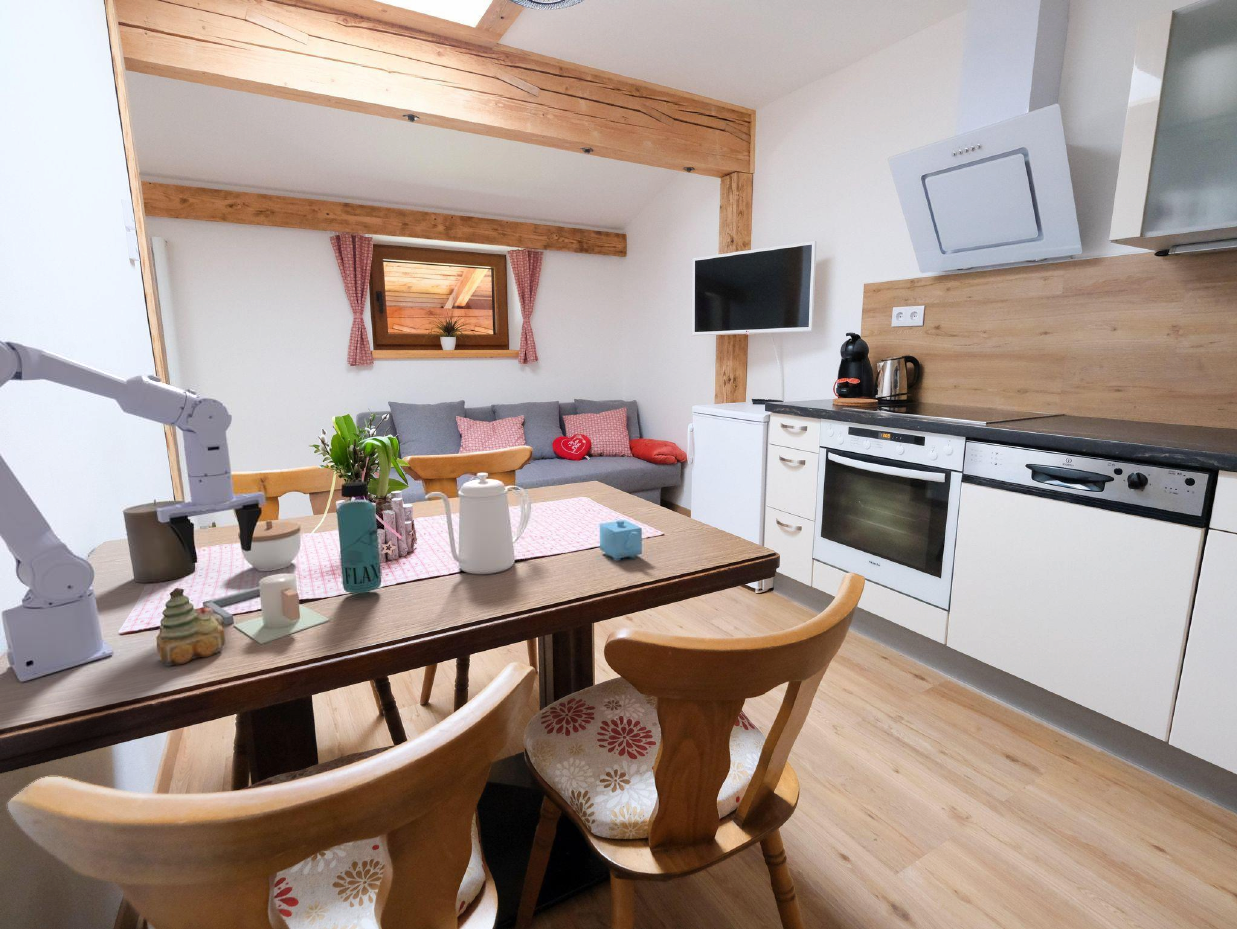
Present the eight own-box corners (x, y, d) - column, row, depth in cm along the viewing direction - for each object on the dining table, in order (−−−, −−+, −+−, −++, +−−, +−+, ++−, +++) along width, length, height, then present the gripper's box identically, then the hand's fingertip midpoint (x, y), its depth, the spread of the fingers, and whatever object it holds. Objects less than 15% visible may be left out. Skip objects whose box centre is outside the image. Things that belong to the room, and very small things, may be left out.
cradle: (226, 624, 94) (225, 617, 94) (203, 609, 100) (202, 602, 100) (299, 602, 102) (298, 595, 102) (273, 589, 109) (273, 582, 108)
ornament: (219, 638, 90) (210, 574, 88) (233, 650, 86) (224, 583, 84) (153, 658, 84) (143, 589, 82) (165, 672, 80) (154, 601, 78)
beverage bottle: (340, 603, 102) (328, 487, 98) (346, 589, 108) (336, 480, 105) (381, 599, 103) (371, 485, 100) (385, 585, 110) (376, 477, 106)
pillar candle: (206, 570, 119) (196, 495, 117) (152, 586, 111) (139, 506, 108) (177, 564, 123) (166, 492, 121) (122, 579, 115) (109, 502, 112)
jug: (257, 622, 94) (253, 579, 93) (291, 612, 98) (287, 571, 96) (279, 637, 89) (275, 592, 88) (314, 626, 93) (310, 583, 92)
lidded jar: (248, 561, 124) (243, 517, 123) (306, 554, 128) (302, 511, 126) (237, 578, 114) (231, 530, 113) (300, 571, 118) (295, 524, 116)
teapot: (650, 563, 120) (650, 526, 119) (623, 568, 117) (622, 530, 116) (622, 547, 131) (621, 513, 129) (597, 551, 128) (596, 517, 127)
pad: (261, 644, 87) (260, 642, 87) (234, 626, 93) (233, 624, 93) (329, 620, 95) (329, 619, 95) (300, 605, 101) (300, 604, 101)
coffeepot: (413, 580, 112) (406, 481, 109) (513, 546, 132) (509, 461, 129) (450, 592, 106) (443, 488, 103) (549, 555, 125) (546, 466, 122)
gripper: (162, 484, 88) (174, 573, 90) (269, 469, 99) (278, 549, 101) (148, 478, 92) (160, 563, 94) (252, 465, 103) (261, 541, 105)
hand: (220, 555), depth 98 cm, fingers open, 7 cm apart
